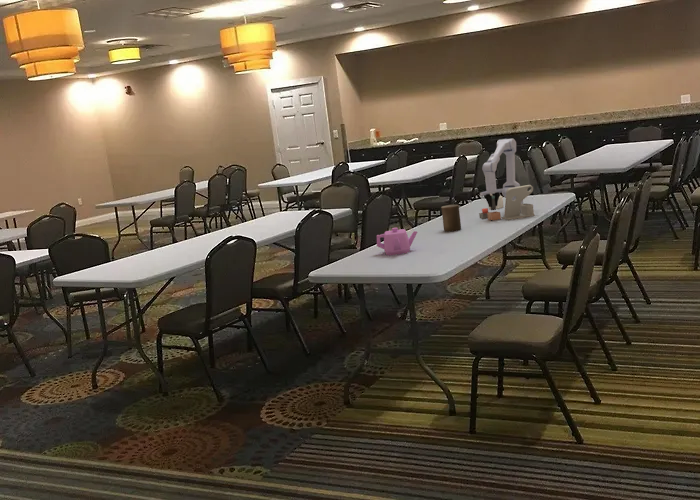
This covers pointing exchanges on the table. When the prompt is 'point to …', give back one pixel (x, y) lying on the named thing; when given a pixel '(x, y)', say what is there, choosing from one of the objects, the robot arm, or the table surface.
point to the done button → (485, 210)
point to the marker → (493, 203)
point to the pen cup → (494, 215)
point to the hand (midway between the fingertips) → (493, 206)
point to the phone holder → (518, 203)
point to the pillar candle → (451, 218)
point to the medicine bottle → (499, 202)
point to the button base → (483, 215)
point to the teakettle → (396, 241)
